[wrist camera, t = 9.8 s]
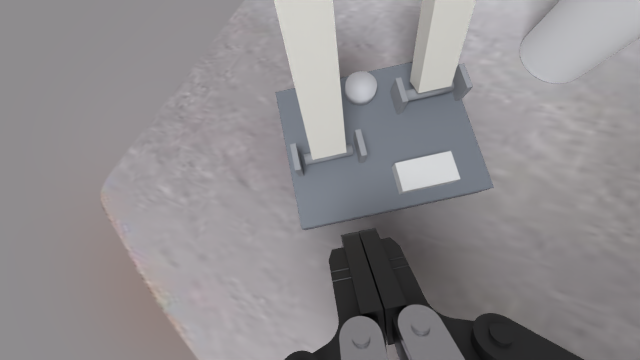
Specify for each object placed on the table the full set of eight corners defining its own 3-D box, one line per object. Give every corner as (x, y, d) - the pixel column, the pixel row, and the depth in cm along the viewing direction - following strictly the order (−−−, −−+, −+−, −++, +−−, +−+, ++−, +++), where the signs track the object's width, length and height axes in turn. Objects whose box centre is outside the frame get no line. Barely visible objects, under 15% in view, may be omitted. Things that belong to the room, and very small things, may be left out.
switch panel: (434, 72, 30) (455, 37, 24) (476, 192, 26) (511, 181, 21) (281, 106, 30) (269, 78, 24) (305, 229, 27) (298, 228, 21)
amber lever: (349, 145, 25) (331, -103, 12) (355, 161, 24) (340, -99, 11) (304, 155, 25) (240, -82, 12) (307, 172, 24) (238, -76, 11)
